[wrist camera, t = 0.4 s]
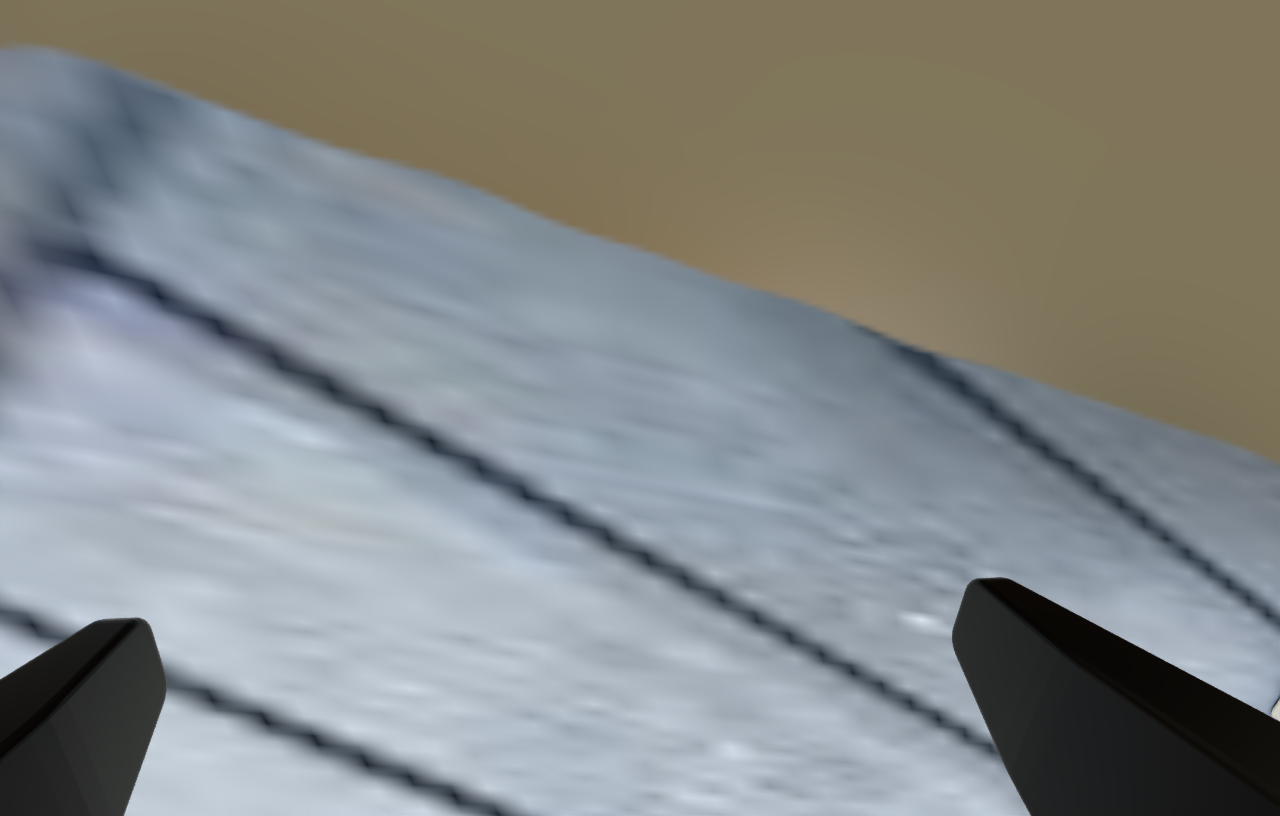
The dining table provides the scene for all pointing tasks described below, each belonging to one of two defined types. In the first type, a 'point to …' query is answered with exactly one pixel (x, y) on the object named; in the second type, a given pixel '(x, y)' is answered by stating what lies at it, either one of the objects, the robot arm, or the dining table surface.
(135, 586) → the dining table surface
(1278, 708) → the candy box
